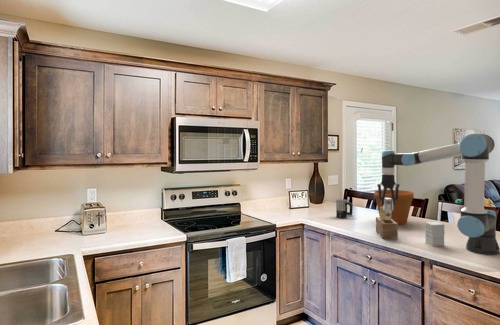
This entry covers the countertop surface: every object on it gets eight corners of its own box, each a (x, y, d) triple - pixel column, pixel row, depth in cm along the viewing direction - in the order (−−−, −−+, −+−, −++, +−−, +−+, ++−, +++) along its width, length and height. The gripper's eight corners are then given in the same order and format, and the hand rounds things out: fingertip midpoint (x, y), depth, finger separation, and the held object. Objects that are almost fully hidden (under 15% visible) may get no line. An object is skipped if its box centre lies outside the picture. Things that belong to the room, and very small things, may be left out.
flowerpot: (421, 223, 244) (421, 192, 243) (396, 228, 231) (396, 195, 230) (390, 216, 269) (390, 189, 268) (366, 220, 256) (366, 191, 255)
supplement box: (436, 242, 196) (436, 221, 195) (444, 245, 188) (444, 224, 188) (425, 242, 195) (425, 222, 195) (432, 246, 188) (432, 224, 187)
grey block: (392, 216, 204) (392, 199, 204) (386, 216, 205) (386, 199, 204) (389, 214, 211) (389, 197, 211) (383, 214, 212) (383, 197, 211)
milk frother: (335, 218, 268) (335, 200, 268) (335, 214, 283) (335, 197, 283) (353, 218, 265) (353, 201, 264) (352, 215, 280) (352, 198, 279)
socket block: (397, 239, 204) (397, 223, 203) (382, 238, 205) (382, 223, 205) (389, 231, 222) (389, 217, 222) (376, 231, 224) (375, 217, 223)
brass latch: (391, 219, 214) (391, 207, 213) (380, 219, 215) (380, 207, 215) (390, 219, 215) (390, 206, 214) (380, 219, 216) (379, 206, 215)
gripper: (400, 173, 209) (400, 209, 210) (373, 173, 212) (373, 208, 213) (404, 174, 202) (403, 211, 203) (375, 174, 204) (375, 210, 205)
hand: (388, 209), depth 208 cm, fingers closed on grey block, 4 cm apart
